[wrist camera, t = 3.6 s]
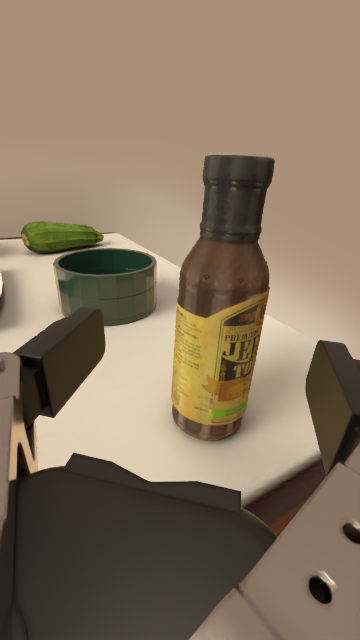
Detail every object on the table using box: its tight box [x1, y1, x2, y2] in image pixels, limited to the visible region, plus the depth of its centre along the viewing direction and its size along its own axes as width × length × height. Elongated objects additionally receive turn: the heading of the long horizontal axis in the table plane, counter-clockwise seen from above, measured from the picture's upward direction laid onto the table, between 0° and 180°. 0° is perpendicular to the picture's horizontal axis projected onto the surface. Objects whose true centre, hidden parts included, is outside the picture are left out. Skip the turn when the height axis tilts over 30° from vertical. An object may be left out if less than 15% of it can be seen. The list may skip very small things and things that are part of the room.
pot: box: [53, 248, 156, 326], centre depth 44 cm, size 14×14×7 cm
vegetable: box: [21, 221, 104, 253], centre depth 73 cm, size 7×7×20 cm
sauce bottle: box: [171, 153, 275, 440], centre depth 21 cm, size 6×6×20 cm
